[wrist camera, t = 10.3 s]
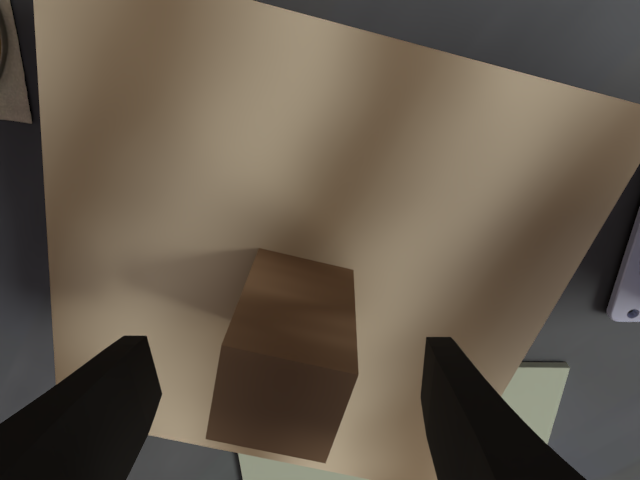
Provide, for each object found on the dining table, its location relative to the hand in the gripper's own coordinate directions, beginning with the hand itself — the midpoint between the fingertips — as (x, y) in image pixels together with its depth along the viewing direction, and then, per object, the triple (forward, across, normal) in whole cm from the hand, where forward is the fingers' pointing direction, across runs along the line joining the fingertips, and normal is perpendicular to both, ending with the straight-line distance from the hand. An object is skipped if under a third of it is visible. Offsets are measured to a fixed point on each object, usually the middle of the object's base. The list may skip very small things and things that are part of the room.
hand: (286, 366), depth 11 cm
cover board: (+4, 0, 0) cm, 4 cm away
